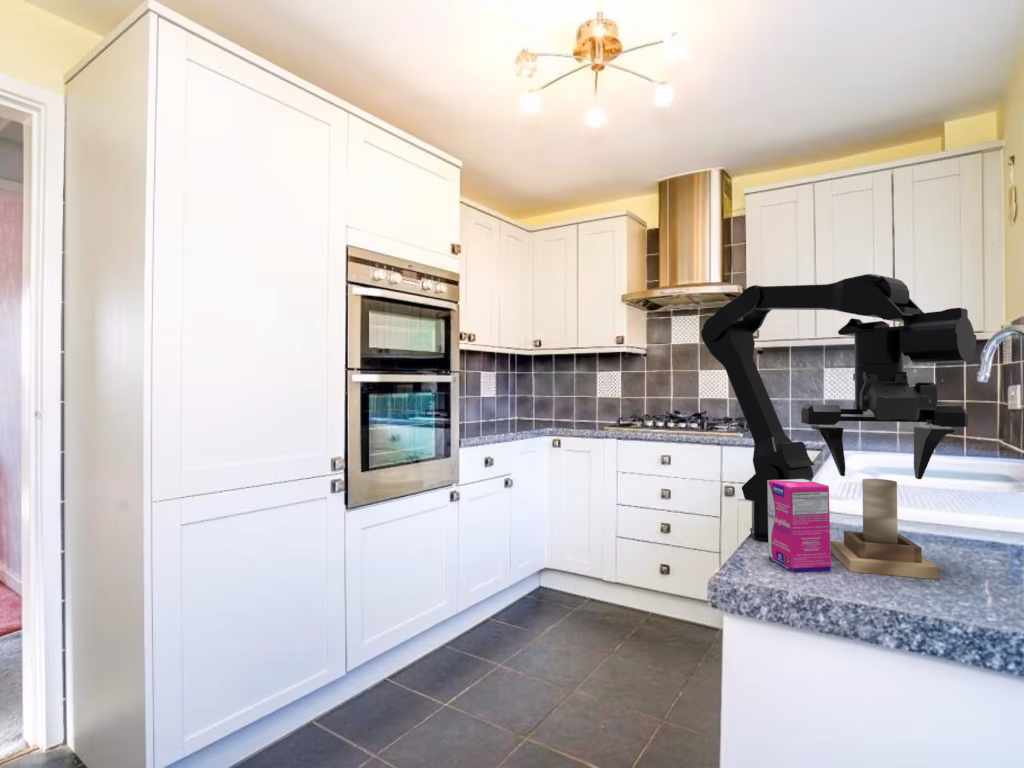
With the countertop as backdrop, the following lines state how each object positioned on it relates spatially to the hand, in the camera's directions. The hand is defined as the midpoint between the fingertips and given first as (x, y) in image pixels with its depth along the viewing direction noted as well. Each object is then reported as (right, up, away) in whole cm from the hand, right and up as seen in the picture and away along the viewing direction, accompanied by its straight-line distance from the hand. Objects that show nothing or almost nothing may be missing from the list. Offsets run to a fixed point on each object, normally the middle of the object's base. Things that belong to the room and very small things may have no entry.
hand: (879, 477), depth 77 cm
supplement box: (-12, -12, -1) cm, 17 cm away
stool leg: (0, -11, 0) cm, 11 cm away
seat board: (0, -12, 0) cm, 12 cm away
